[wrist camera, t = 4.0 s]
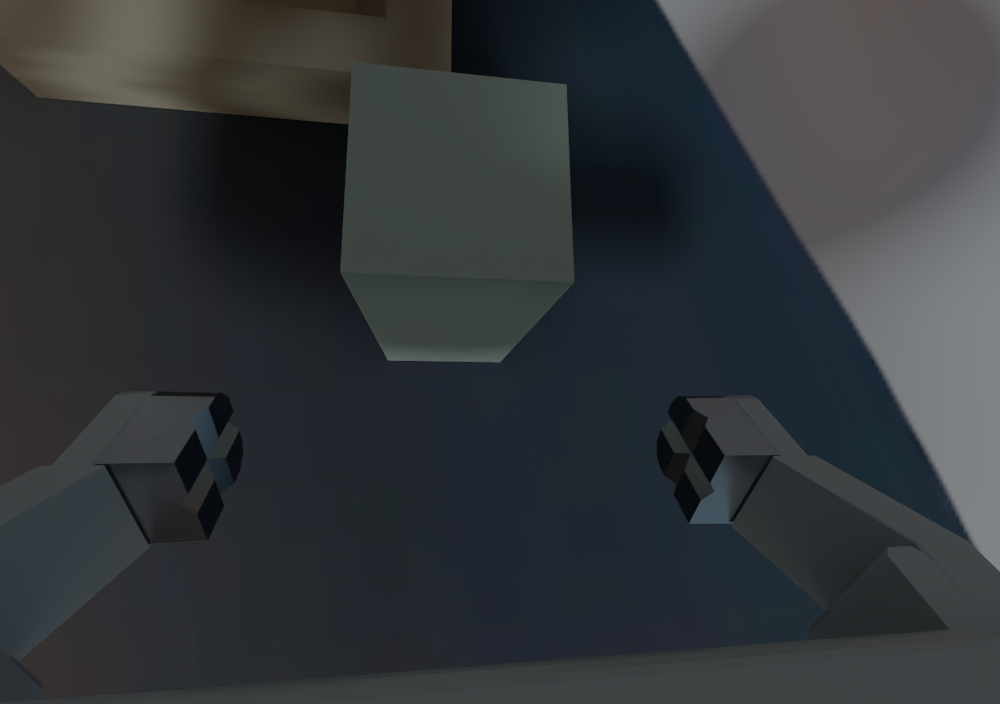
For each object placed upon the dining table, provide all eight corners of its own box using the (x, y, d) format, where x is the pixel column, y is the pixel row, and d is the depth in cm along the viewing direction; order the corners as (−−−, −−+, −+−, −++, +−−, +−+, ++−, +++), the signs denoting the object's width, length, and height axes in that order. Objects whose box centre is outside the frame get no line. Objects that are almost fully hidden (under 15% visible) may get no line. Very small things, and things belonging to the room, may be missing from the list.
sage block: (387, 360, 18) (339, 272, 9) (391, 253, 19) (352, 61, 9) (500, 362, 19) (574, 282, 9) (499, 258, 20) (566, 84, 10)
